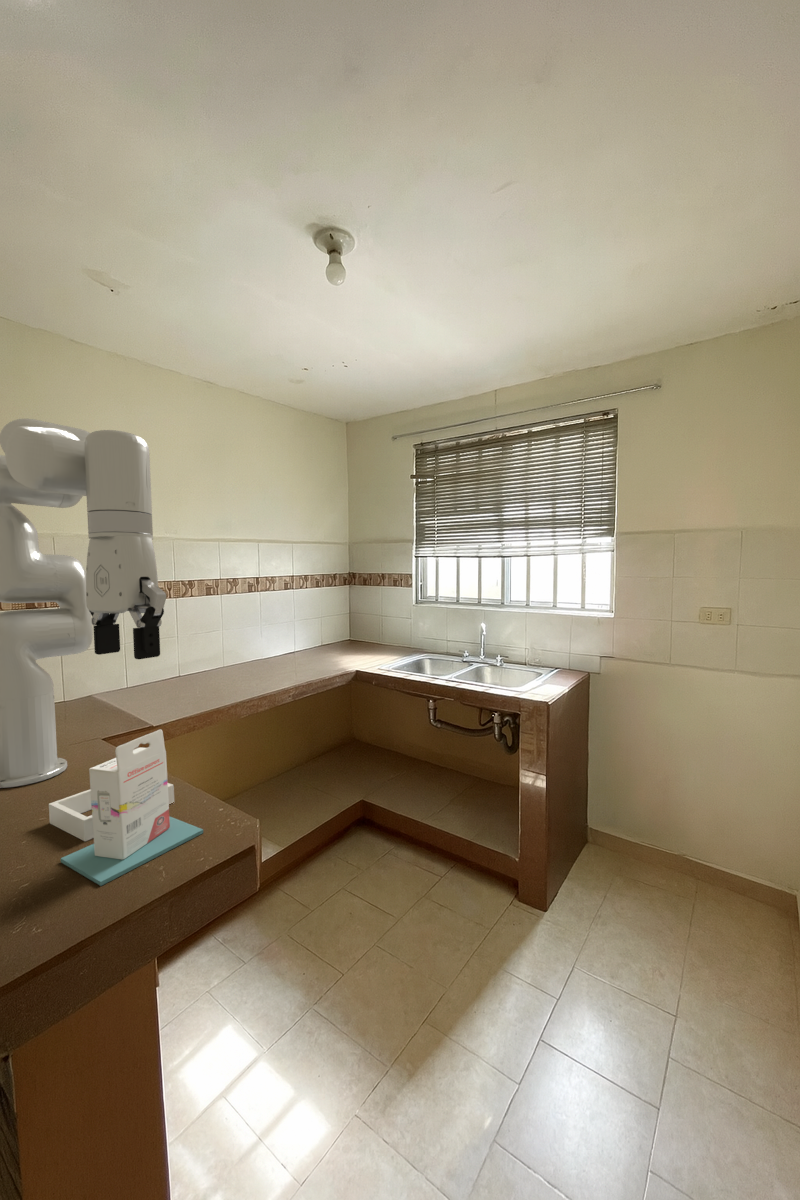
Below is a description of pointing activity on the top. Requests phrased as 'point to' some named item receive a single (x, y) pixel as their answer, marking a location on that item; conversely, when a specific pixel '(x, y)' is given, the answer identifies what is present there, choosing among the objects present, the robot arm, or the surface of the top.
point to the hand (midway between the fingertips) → (126, 655)
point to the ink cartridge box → (130, 797)
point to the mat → (111, 868)
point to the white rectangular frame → (70, 809)
